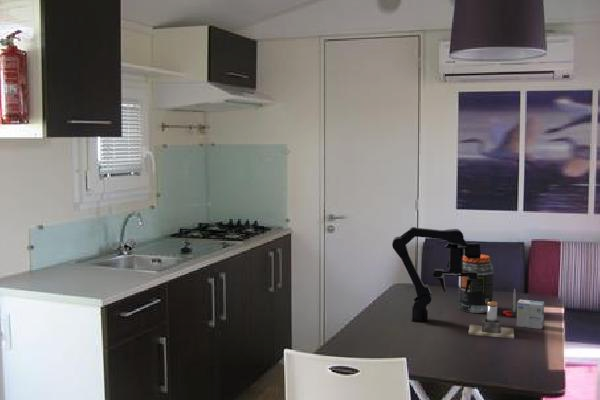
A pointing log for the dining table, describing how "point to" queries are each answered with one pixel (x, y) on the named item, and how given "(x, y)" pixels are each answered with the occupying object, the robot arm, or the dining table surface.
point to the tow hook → (513, 312)
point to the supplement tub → (476, 285)
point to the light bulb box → (530, 314)
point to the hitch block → (491, 329)
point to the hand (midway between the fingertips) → (455, 293)
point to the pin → (492, 311)
